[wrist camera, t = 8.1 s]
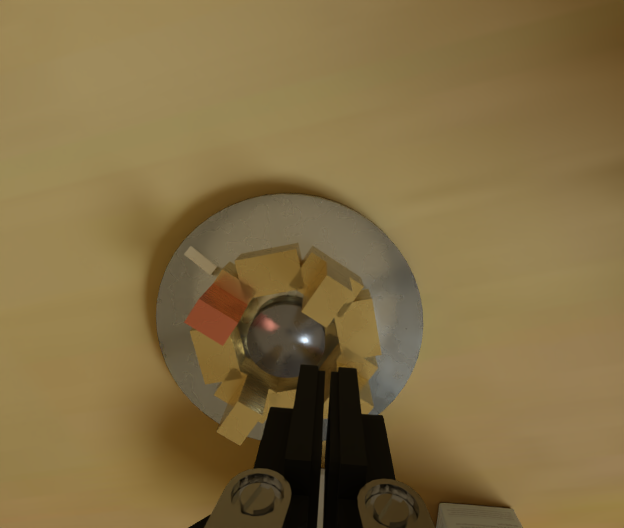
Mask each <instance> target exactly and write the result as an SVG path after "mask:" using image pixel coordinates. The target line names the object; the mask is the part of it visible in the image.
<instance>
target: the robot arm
mask: <svg viewBox="0 0 624 528" xmlns="http://www.w3.org/2000/svg"><path fill="white" fill-rule="evenodd" d="M324 390H325V371H320V370H318V365H305V364H301V365H300V371H299V377H298V383H297V389H296V395H295V401H294V407H293V408H281V407H270V409H269V412H268V416H267V420H266V424H265V427H264V431H263V435H262V439H261V442H260V446H259V450H258V454H257V458H256V461H255V465H254V469H250V470H247V471H244V472H242V473H239V474H238V475H237V476H235V477H234V478H232V479H231V481H230V482H229V483H228V484H227V486H226V487H225V489H224V491H223V493H222V495H221V497H220V499H219V500H218V502H217V504H216V506H215V508H214V510H213V512H212V514H211V515H209V516H207V517H206V518H204V519H202V520H200V521H199V522H197V523H195V524H194V525H192V526H190V527H189V528H317V519H318V505H319V490H320V475H321V457H322V435H323V413H324ZM323 528H435V526H434V523H433V521H432V519H431V517H430V514H429V512H428V510H427V508H426V505H425V503H424V502H423V500H422V498H421V497H420V495H419V494H418V493H417V492H415V491H414V490H413V489H412V488H411V487H409V486H407V485H406V484H404V483H402V482H399V481H396V480H395V475H394V469H393V464H392V459H391V454H390V449H389V444H388V438H387V433H386V428H385V423H384V418H383V416H382V415H372V414H362V413H361V404H360V394H359V385H358V376H357V368H346V367H338V372H334V371H331V379H330V393H329V407H328V422H327V436H326V451H325V476H324V508H323Z"/></svg>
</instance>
